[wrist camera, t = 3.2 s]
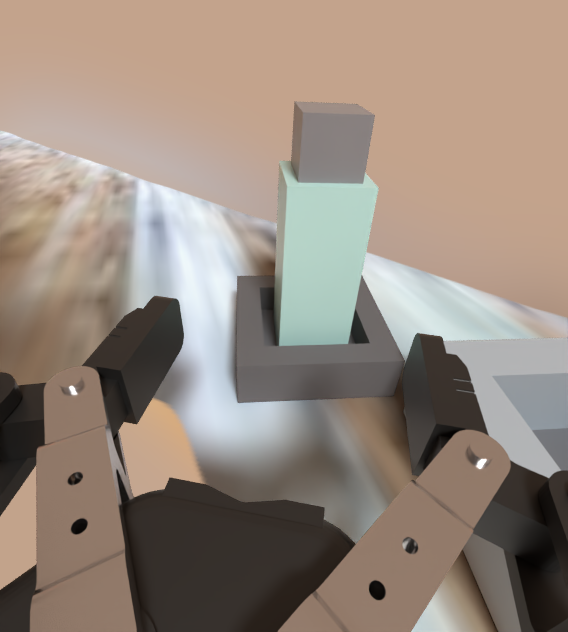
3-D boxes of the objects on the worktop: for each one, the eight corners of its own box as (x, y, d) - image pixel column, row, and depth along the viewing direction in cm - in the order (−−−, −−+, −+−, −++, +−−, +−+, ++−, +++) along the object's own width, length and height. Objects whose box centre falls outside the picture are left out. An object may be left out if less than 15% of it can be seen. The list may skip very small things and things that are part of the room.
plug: (278, 358, 24) (290, 114, 16) (273, 317, 28) (281, 99, 19) (345, 356, 25) (392, 117, 16) (332, 316, 28) (365, 102, 20)
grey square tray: (237, 402, 22) (236, 366, 21) (238, 308, 30) (237, 276, 28) (393, 396, 23) (404, 360, 22) (355, 306, 31) (361, 275, 29)
